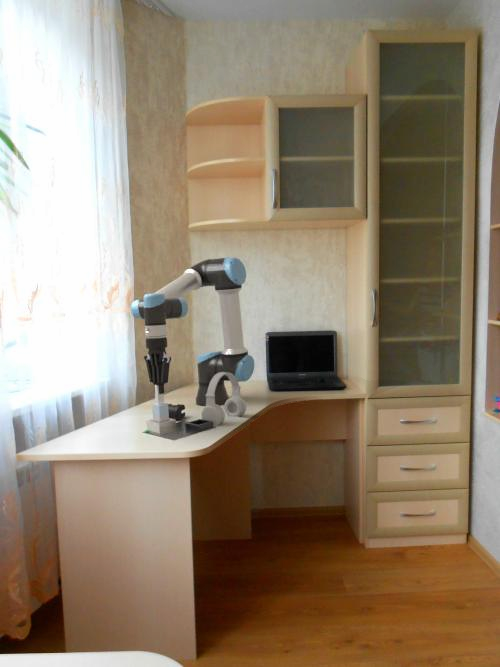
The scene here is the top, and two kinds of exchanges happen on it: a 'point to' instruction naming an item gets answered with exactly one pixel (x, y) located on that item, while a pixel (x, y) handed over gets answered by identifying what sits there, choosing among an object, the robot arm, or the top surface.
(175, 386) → the top surface
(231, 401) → the headphones
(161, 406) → the plug
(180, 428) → the panel
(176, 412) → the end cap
